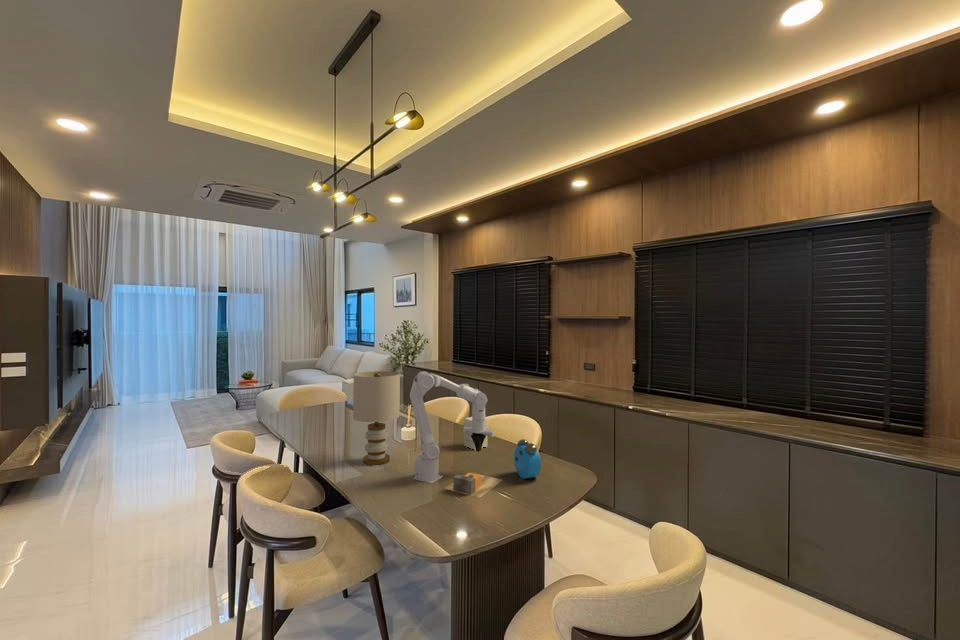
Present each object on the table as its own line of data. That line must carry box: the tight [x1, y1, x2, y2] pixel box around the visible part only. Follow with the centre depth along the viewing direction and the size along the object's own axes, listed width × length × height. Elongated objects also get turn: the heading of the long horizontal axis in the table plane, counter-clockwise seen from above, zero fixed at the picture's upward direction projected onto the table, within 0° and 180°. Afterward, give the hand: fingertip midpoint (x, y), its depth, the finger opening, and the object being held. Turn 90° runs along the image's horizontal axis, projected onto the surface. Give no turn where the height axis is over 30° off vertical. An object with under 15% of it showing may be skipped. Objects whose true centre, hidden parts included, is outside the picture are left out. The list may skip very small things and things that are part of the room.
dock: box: [443, 472, 503, 499], centre depth 156 cm, size 16×19×5 cm
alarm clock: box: [513, 438, 542, 480], centre depth 164 cm, size 13×6×15 cm, turn 23°
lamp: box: [352, 370, 401, 466], centre depth 182 cm, size 21×21×41 cm
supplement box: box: [463, 416, 488, 451], centre depth 204 cm, size 9×9×15 cm
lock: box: [464, 472, 482, 491], centre depth 153 cm, size 6×6×5 cm
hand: (478, 450), depth 169 cm, fingers closed
